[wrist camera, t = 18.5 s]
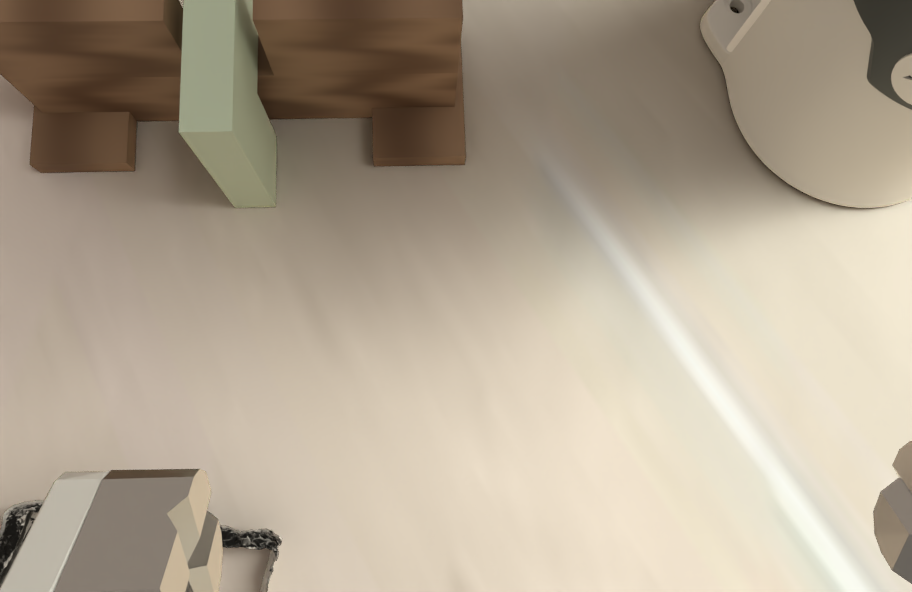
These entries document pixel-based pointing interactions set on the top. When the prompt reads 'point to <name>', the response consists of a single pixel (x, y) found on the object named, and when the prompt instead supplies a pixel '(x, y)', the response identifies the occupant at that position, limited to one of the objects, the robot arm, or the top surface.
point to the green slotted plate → (226, 101)
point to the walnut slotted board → (279, 73)
